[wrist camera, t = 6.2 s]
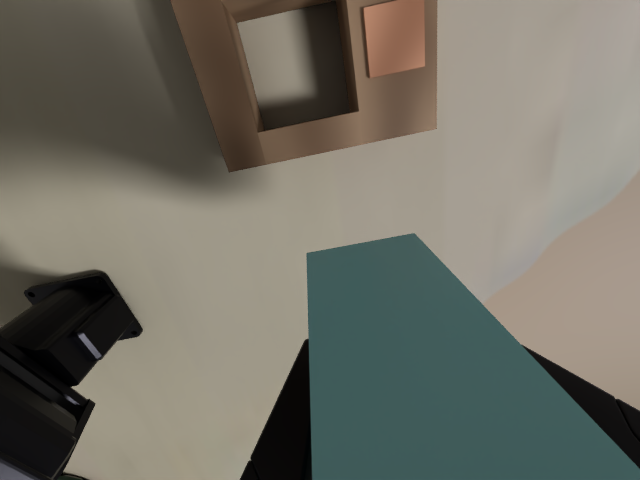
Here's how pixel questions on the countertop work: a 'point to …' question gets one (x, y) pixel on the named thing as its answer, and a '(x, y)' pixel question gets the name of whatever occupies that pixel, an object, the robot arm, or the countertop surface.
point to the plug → (432, 380)
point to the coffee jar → (68, 478)
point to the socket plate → (360, 71)
